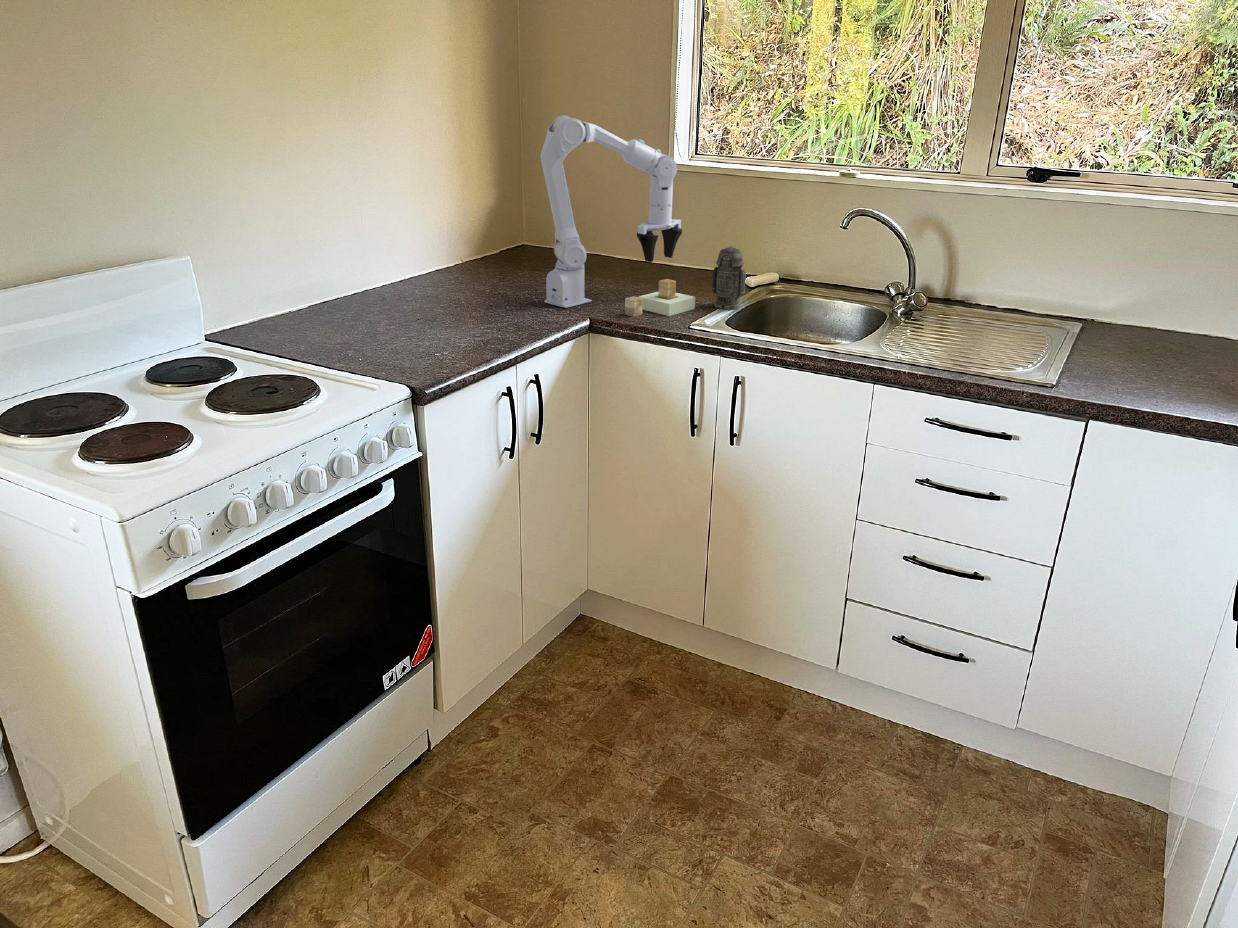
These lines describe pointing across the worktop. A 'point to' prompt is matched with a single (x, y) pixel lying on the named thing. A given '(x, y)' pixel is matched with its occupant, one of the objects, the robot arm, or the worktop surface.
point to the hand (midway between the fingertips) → (658, 259)
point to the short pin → (633, 306)
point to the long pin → (667, 289)
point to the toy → (729, 279)
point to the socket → (668, 304)
